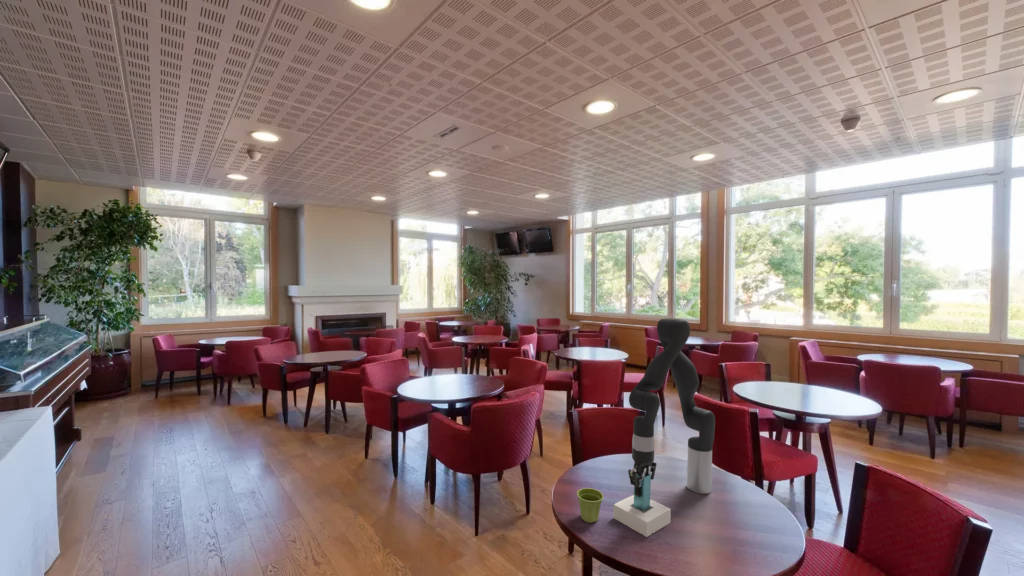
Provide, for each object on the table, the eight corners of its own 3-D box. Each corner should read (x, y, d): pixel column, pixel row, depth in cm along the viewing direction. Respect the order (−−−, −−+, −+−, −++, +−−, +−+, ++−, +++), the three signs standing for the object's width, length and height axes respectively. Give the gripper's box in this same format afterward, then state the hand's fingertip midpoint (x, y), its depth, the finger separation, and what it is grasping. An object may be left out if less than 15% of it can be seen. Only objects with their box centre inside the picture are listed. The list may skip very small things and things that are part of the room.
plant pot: (604, 514, 156) (604, 490, 156) (601, 528, 147) (601, 503, 147) (579, 509, 159) (579, 486, 159) (574, 522, 150) (574, 498, 150)
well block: (637, 505, 162) (637, 492, 162) (670, 522, 151) (670, 508, 151) (613, 518, 154) (613, 504, 154) (646, 537, 143) (647, 522, 142)
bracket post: (640, 503, 155) (641, 470, 155) (649, 507, 152) (650, 474, 152) (633, 506, 153) (634, 473, 152) (643, 511, 149) (643, 477, 149)
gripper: (646, 439, 159) (645, 484, 159) (621, 447, 150) (620, 495, 151) (664, 445, 153) (662, 492, 153) (639, 454, 144) (638, 504, 145)
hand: (642, 493), depth 152 cm, fingers closed on bracket post, 4 cm apart
